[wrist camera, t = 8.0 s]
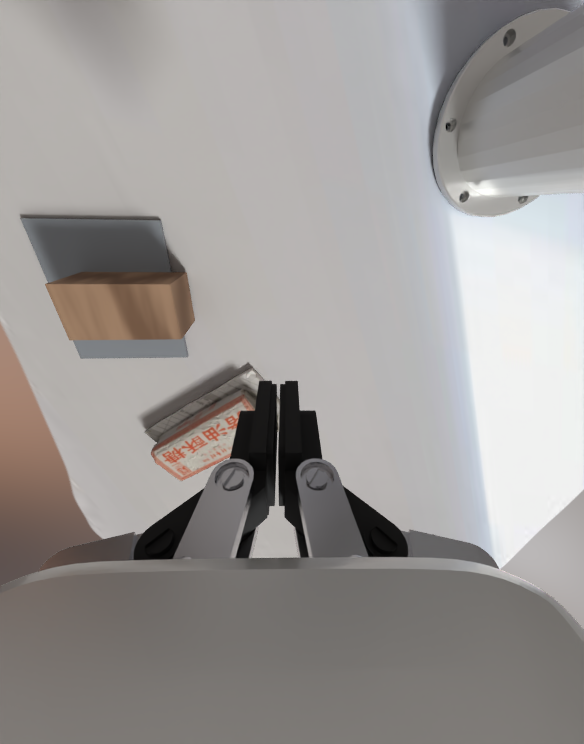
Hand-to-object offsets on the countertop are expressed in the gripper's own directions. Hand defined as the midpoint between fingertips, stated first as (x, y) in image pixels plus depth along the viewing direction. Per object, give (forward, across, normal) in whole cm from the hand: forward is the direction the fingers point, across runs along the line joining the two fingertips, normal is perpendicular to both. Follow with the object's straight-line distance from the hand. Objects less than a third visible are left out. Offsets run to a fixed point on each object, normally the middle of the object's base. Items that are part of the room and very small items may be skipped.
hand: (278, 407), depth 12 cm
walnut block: (+16, +10, +1) cm, 19 cm away
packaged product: (+20, +9, +18) cm, 28 cm away
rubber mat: (+19, +17, +1) cm, 26 cm away
